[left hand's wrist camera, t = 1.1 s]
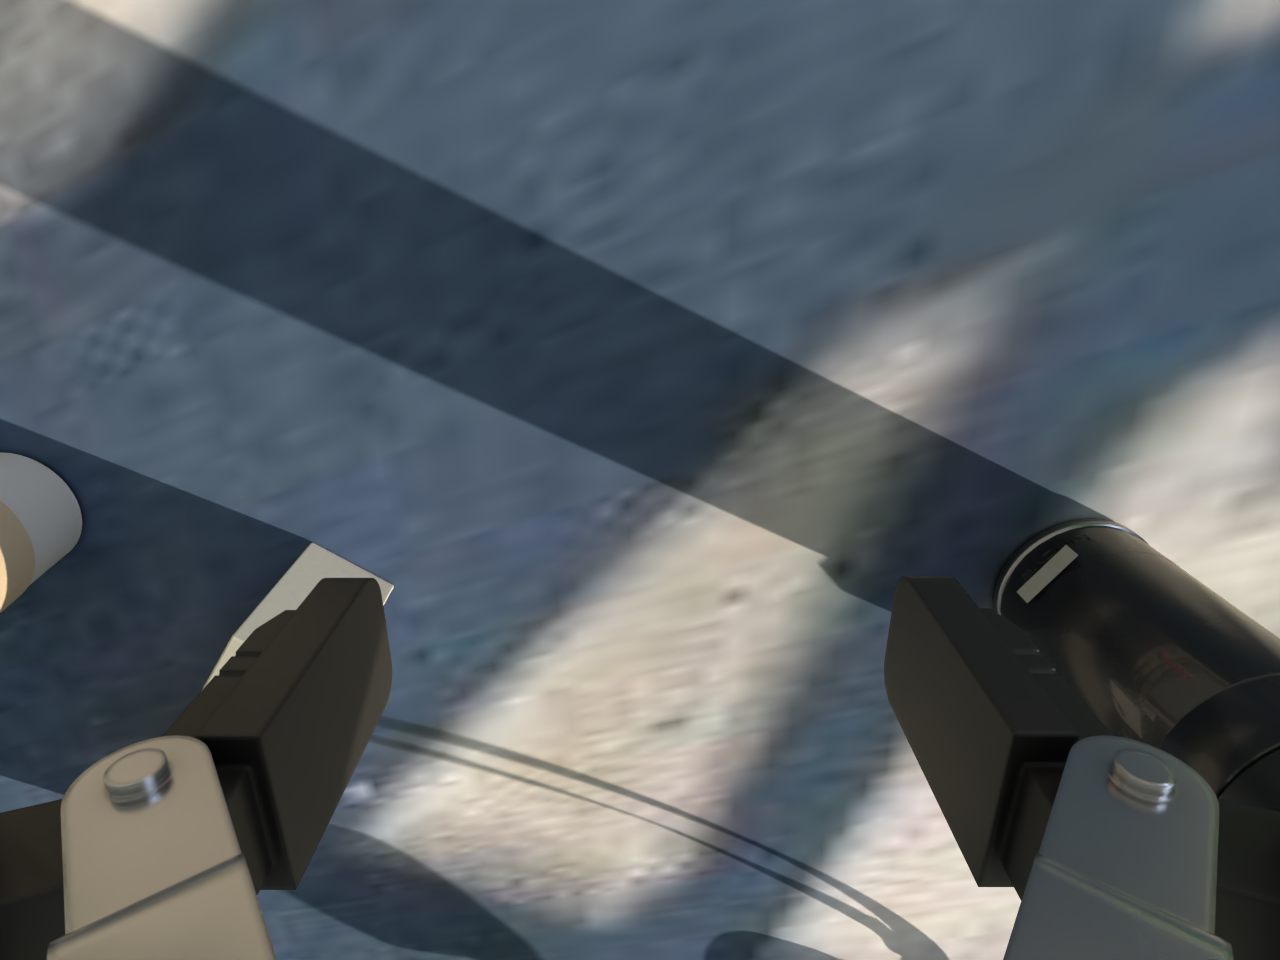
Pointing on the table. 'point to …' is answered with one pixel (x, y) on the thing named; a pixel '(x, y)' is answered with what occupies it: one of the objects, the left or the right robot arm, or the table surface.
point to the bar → (296, 593)
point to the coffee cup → (32, 523)
